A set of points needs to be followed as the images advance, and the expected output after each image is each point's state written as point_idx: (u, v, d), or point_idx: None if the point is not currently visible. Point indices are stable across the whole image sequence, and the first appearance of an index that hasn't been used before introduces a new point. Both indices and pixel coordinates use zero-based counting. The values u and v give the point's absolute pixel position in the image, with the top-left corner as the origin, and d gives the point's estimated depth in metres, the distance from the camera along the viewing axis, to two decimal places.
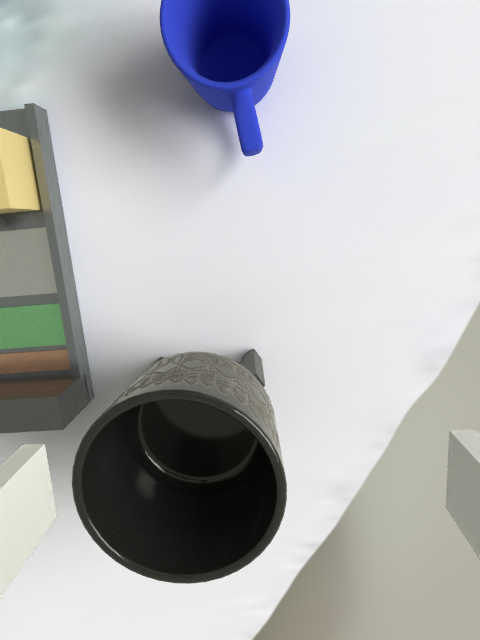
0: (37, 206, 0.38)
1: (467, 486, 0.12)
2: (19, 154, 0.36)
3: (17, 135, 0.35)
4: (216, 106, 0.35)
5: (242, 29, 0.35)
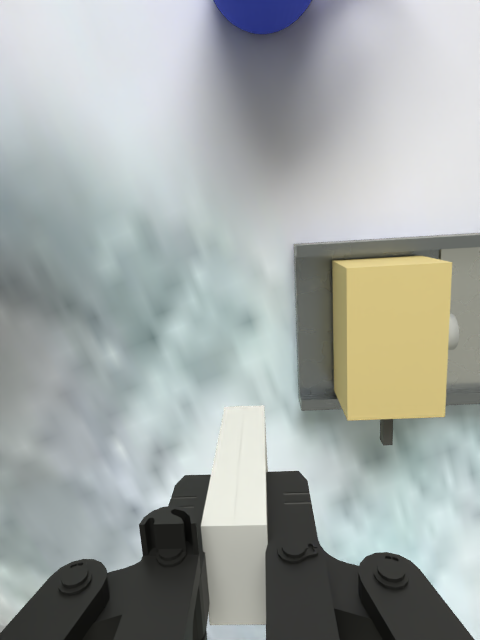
0: (420, 256, 0.29)
1: None
2: (362, 261, 0.28)
3: (339, 263, 0.28)
4: None
5: None
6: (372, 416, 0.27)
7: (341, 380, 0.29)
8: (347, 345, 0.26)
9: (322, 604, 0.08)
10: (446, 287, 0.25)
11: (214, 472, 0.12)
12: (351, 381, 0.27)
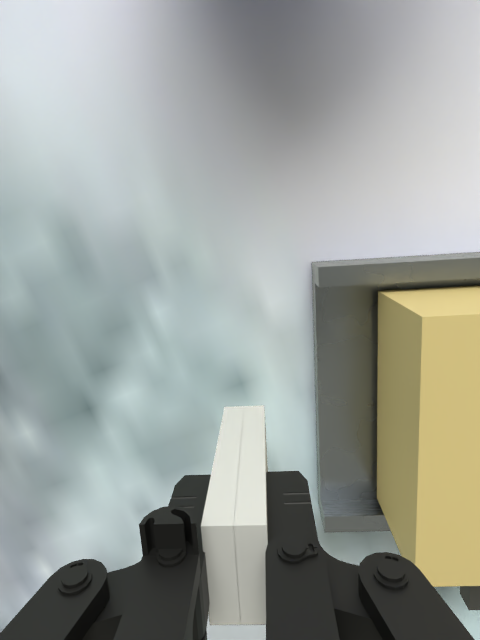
0: None
1: None
2: (438, 297, 0.16)
3: (395, 299, 0.16)
4: None
5: None
6: (460, 580, 0.15)
7: (398, 502, 0.17)
8: (419, 458, 0.14)
9: (322, 604, 0.08)
10: None
11: (214, 472, 0.12)
12: (425, 521, 0.14)
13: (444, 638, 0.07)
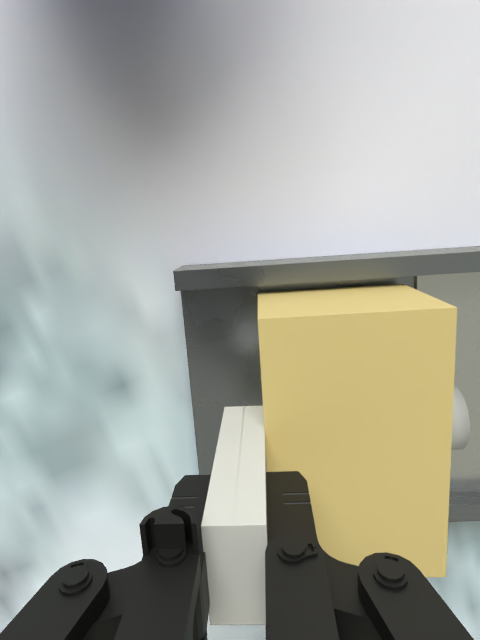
0: (402, 287, 0.17)
1: None
2: (300, 299, 0.16)
3: (261, 300, 0.16)
4: None
5: None
6: None
7: None
8: (267, 456, 0.14)
9: (322, 604, 0.08)
10: (446, 353, 0.13)
11: (214, 472, 0.12)
12: None
13: (443, 638, 0.07)
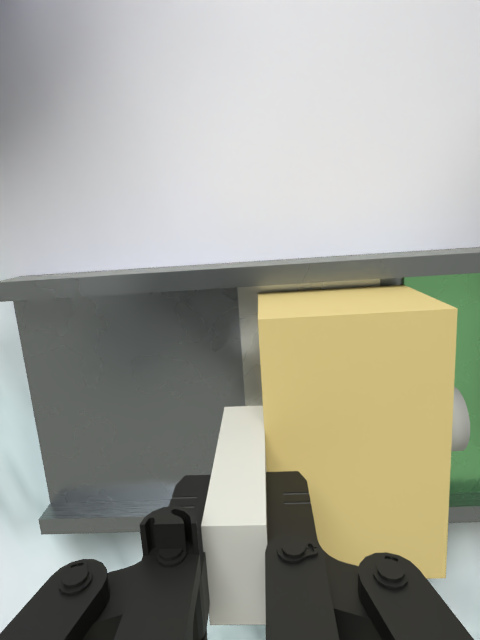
0: (402, 287, 0.17)
1: None
2: (301, 300, 0.16)
3: (261, 301, 0.16)
4: None
5: None
6: None
7: None
8: (266, 456, 0.14)
9: (322, 604, 0.08)
10: (446, 354, 0.13)
11: (214, 472, 0.12)
12: None
13: (443, 638, 0.07)
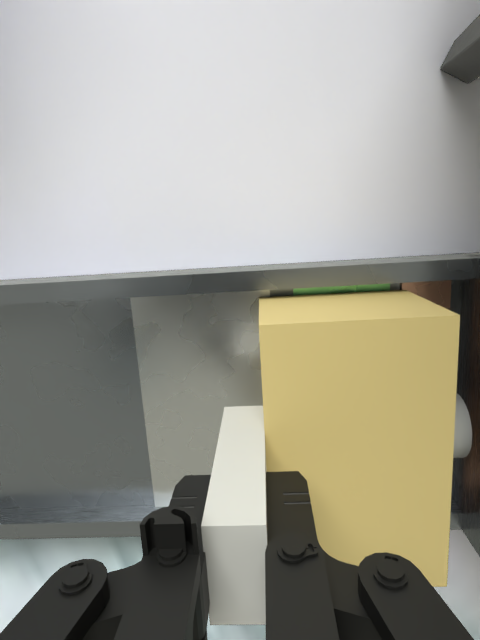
0: (404, 293, 0.17)
1: None
2: (302, 305, 0.16)
3: (262, 306, 0.16)
4: None
5: None
6: None
7: None
8: (267, 463, 0.14)
9: (322, 604, 0.08)
10: (449, 361, 0.13)
11: (214, 472, 0.12)
12: None
13: (444, 638, 0.07)
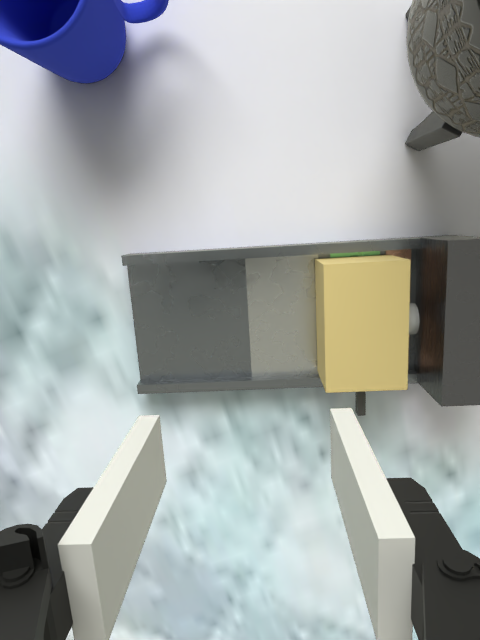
0: (388, 255, 0.34)
1: (336, 455, 0.14)
2: (339, 259, 0.33)
3: (319, 260, 0.33)
4: (119, 44, 0.31)
5: (44, 19, 0.32)
6: (346, 389, 0.32)
7: (321, 360, 0.34)
8: (325, 329, 0.32)
9: None
10: (406, 280, 0.30)
11: (97, 486, 0.12)
12: (329, 359, 0.32)
13: None
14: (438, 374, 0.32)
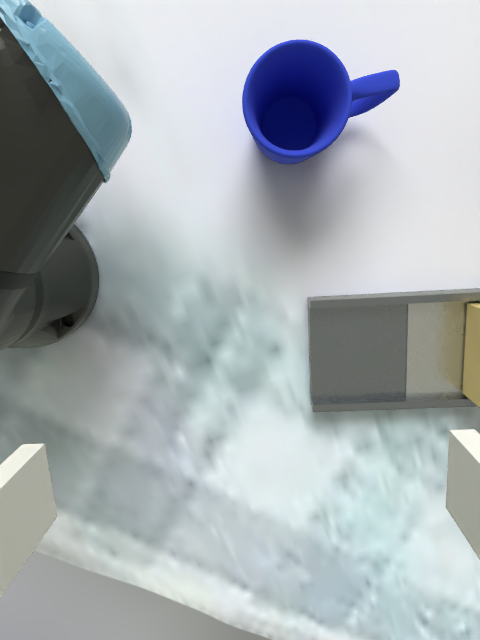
0: None
1: (467, 486, 0.12)
2: None
3: (477, 306, 0.42)
4: None
5: (262, 115, 0.41)
6: None
7: (477, 386, 0.42)
8: None
9: None
10: None
11: None
12: None
13: None
14: None
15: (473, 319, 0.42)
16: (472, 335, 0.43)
